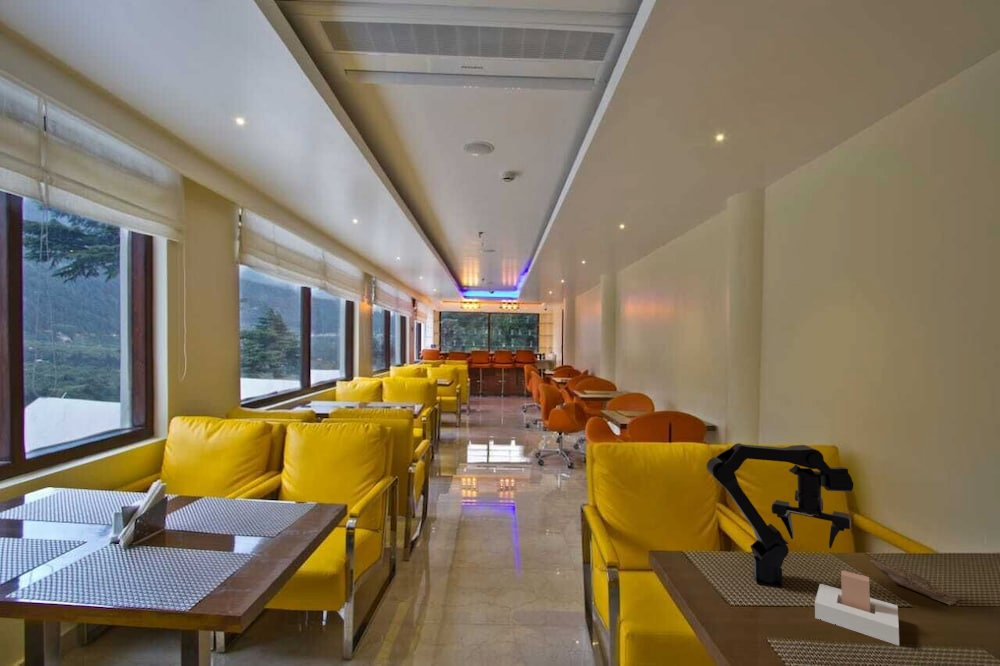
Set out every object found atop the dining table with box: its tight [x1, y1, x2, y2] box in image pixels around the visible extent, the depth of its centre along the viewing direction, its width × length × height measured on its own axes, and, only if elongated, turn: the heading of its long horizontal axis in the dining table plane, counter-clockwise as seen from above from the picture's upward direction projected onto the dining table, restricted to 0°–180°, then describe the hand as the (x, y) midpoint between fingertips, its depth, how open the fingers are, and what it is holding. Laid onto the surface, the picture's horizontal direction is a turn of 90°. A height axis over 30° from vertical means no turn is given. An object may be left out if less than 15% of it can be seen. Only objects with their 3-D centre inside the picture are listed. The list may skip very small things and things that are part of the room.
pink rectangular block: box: [840, 570, 871, 613], centre depth 112 cm, size 6×3×10 cm, turn 49°
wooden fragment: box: [869, 559, 959, 607], centre depth 130 cm, size 26×11×1 cm, turn 177°
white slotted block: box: [814, 583, 900, 646], centre depth 112 cm, size 16×12×4 cm
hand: (810, 543), depth 129 cm, fingers open, 9 cm apart
